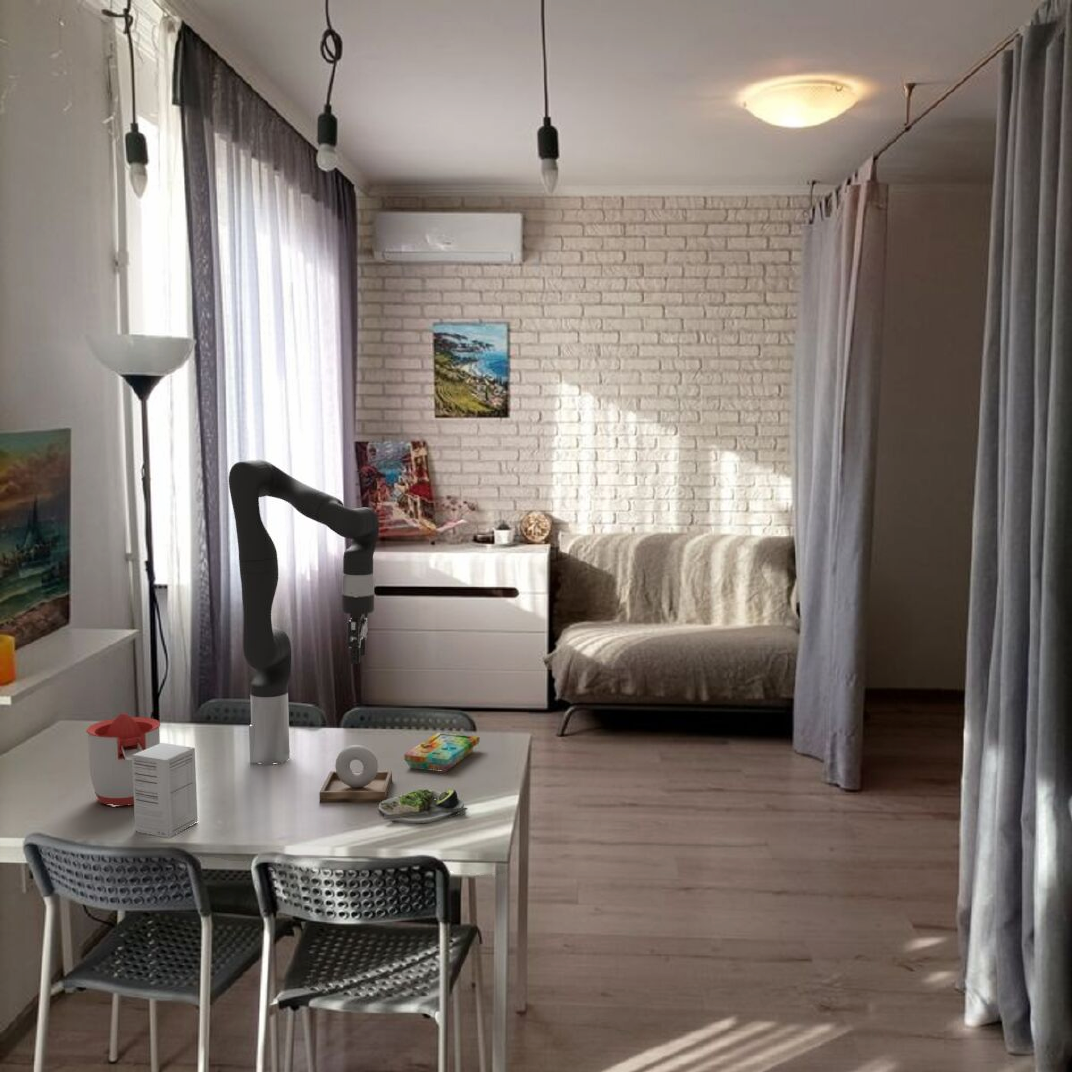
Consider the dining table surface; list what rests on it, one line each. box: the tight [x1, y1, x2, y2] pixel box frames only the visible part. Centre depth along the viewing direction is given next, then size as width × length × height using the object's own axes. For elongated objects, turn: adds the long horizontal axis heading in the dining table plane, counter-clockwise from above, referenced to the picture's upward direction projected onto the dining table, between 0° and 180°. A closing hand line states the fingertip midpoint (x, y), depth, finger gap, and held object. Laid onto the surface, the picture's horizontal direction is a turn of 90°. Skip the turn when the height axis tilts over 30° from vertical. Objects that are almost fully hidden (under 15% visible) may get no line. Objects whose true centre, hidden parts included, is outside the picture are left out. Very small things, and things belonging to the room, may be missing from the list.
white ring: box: [335, 744, 379, 788], centre depth 263 cm, size 10×4×10 cm, turn 84°
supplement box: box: [132, 742, 199, 839], centre depth 241 cm, size 10×9×17 cm
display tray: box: [319, 770, 393, 804], centre depth 264 cm, size 15×15×2 cm
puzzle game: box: [403, 732, 480, 772], centre depth 288 cm, size 12×5×20 cm
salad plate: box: [377, 788, 468, 824], centre depth 251 cm, size 19×18×5 cm
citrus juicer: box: [86, 712, 161, 806], centre depth 257 cm, size 16×17×20 cm
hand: (357, 659), depth 272 cm, fingers open, 8 cm apart
